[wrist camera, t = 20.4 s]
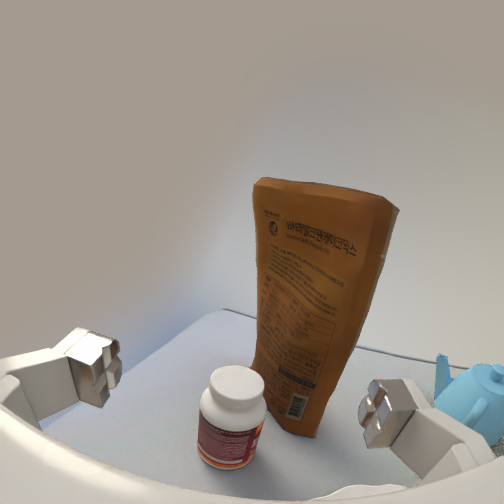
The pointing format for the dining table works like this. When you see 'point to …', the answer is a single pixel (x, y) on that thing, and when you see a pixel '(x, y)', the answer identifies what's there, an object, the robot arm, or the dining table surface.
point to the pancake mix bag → (313, 289)
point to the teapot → (473, 397)
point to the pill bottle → (231, 417)
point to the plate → (360, 491)
